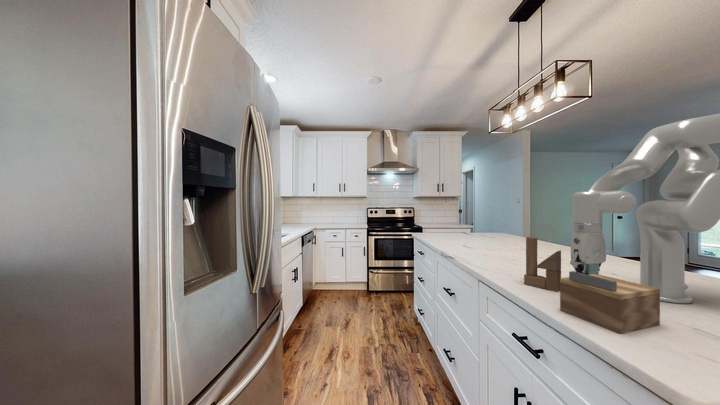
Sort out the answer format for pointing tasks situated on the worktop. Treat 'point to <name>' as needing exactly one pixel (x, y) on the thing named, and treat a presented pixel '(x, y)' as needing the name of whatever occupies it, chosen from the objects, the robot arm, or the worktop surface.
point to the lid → (608, 286)
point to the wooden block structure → (550, 264)
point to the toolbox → (611, 309)
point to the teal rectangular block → (591, 268)
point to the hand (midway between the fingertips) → (587, 282)
